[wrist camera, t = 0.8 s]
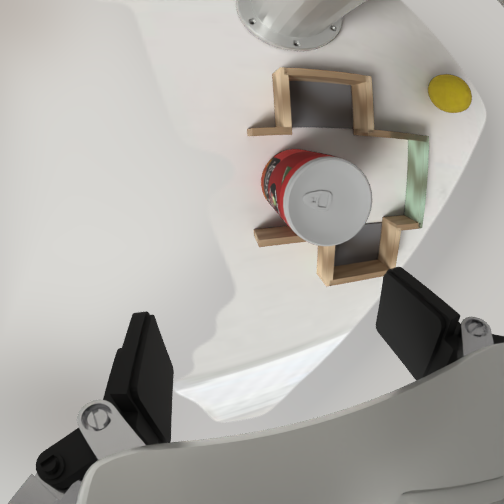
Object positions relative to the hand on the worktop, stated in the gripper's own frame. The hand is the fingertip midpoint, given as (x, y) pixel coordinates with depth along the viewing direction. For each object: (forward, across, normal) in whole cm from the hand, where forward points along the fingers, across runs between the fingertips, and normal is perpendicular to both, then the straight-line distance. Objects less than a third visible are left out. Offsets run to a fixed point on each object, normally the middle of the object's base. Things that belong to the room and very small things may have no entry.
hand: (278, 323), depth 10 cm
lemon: (+23, -30, -14) cm, 40 cm away
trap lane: (+23, -14, -1) cm, 27 cm away
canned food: (+23, -8, -1) cm, 24 cm away
